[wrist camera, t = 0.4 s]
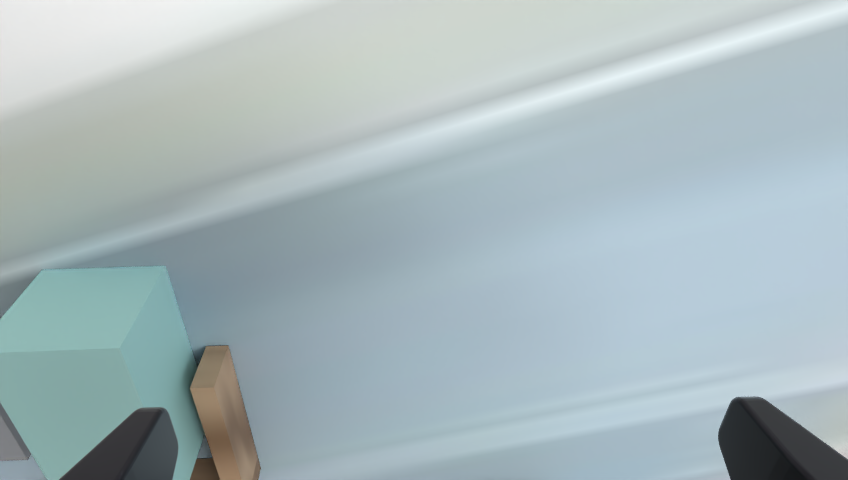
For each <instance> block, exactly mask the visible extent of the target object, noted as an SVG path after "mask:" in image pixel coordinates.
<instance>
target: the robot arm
mask: <svg viewBox="0 0 848 480" xmlns="http://www.w3.org/2000/svg"><path fill="white" fill-rule="evenodd" d="M718 440H719V445H720V449H721V452H722V455H723V458H724V461H725V464H726V467H727V470H728V473H729V476H730V479H731V480H848V459H846V458H845V457H844V456H842V455H841V454H840V453H838V452H837V451H835V450H834V449H833V448H831V447H830V446H829V445H827V444H826V443H824V442H823V441H822V440H820V439H819V438H818V437H816V436H815V435H813V434H812V433H811V432H809V431H808V430H807V429H805V428H804V427H802V426H801V425H800V424H798V423H797V422H795V421H794V420H793V419H791V418H790V417H789V416H787V415H786V414H784V413H783V412H782V411H780V410H779V409H778V408H776V407H775V406H773V405H772V404H771V403H769V402H768V401H766V400H765V399H763V398H761V397H736V398H734V399H733V400H732V401H731V402H730V405H729V407H728V409H727V412H726V414H725V416H724V419H723V421H722V423H721V426H720V428H719V433H718ZM177 457H178V440H177V437H176V433H175V430H174V427H173V424H172V421H171V418H170V415H169V413H168V411H167V410H166V409H165V408H163V407H144V408H139V409H137V410H135V411H134V412H133V413H131V414H130V415H129V416H128V417H127V418H126V419H125V420H124V421H123V422H122V423H120V424H119V425H118V426H117V427H116V428H115V429H114V430H113V431H112V432H111V433H109V434H108V435H107V436H106V437H105V438H104V439H103V440H102V441H101V442H100V443H98V444H97V445H96V446H95V447H94V448H93V449H92V450H91V451H90V452H89V453H87V454H86V455H85V456H84V457H83V458H82V459H81V460H80V461H79V462H78V463H76V464H75V465H74V466H73V467H72V468H71V469H70V470H69V471H68V472H67V473H65V474H64V475H63V476H62V477H61V478H60V479H59V480H173V475H174V471H175V466H176V462H177Z"/></svg>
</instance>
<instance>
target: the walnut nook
mask: <svg viewBox="0 0 848 480" xmlns="http://www.w3.org/2000/svg"><path fill="white" fill-rule="evenodd" d="M190 390H191V393H192V396H193V399H194V402H195V405H196V408H197V411H198V414H199V417H200V420H201V423H202V426H203V429H204V432H205V436H206V439H207V442H208V445H209V448H210V451H211V454H212V457H213V458H207V459H196V462H195V465H194V468H193V471H192V474H191V477H190V480H258V478H259V474H260V469H261V467H260V464H259V460H258V456H257V452H256V448H255V445H254V441H253V437H252V433H251V430H250V426H249V422H248V418H247V414H246V411H245V407H244V403H243V399H242V395H241V392H240V388H239V384H238V380H237V376H236V373H235V369H234V365H233V361H232V358H231V354H230V350H229V346H206V348H205V350H204V353H203V356H202V358H201V361H200V363H199V366H198V368H197V371H196V374H195V376H194V379H193V381H192V384H191V386H190Z"/></svg>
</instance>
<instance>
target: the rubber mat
mask: <svg viewBox="0 0 848 480" xmlns="http://www.w3.org/2000/svg"><path fill="white" fill-rule="evenodd" d="M30 455H31V453H30V451H29V449H28V448H27V446H26V444H25V443H24V441H23V439H22V438H21V436H20V434H19V433H18V431H17V429H16V428H15V426H14V424H13V423H12V421H11V419H10V418H9V416H8V414H7V413H6V411H5V409H4V408H3V406H2V404H1V403H0V461H9V460H28V458H29V457H30Z"/></svg>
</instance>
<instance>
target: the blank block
mask: <svg viewBox="0 0 848 480" xmlns="http://www.w3.org/2000/svg"><path fill="white" fill-rule="evenodd" d="M196 371H197V364H196V361H195V358H194V355H193V352H192V348H191V345H190V342H189V339H188V336H187V333H186V329H185V326H184V323H183V320H182V317H181V314H180V310H179V307H178V304H177V301H176V298H175V295H174V291H173V288H172V285H171V282H170V279H169V276H168V272H167V269H166V266H140V267H109V268H77V269H45V270H41V272H40V273H39V274H38V275H37V276H36V278H35V279H34V280H33V281H32V282H31V283H30V285H29V286H28V287H27V288H26V289H25V291H24V292H23V293H22V294H21V295H20V296H19V298H18V299H17V300H16V301H15V302H14V304H13V305H12V306H11V307H10V308H9V309H8V311H7V312H6V313H5V314H4V315H3V317H2V318H1V319H0V403H1V404H2V406H3V408H4V409H5V411H6V413H7V414H8V416H9V418H10V419H11V421H12V423H13V424H14V426H15V428H16V429H17V431H18V433H19V434H20V436H21V438H22V439H23V441H24V443H25V444H26V446H27V448H28V449H29V451H30V453H31V454H32V456H33V457H34V459H35V461H36V462H37V464H38V466H39V467H40V469H41V471H42V472H43V474H44V476H45V477H46V479H47V480H59V479H60V478H61V477H62V476H63V475H64V474H65V473H67V472H68V471H69V470H70V469H71V468H72V467H73V466H74V465H75V464H76V463H78V462H79V461H80V460H81V459H82V458H83V457H84V456H85V455H86V454H87V453H89V452H90V451H91V450H92V449H93V448H94V447H95V446H96V445H97V444H98V443H100V442H101V441H102V440H103V439H104V438H105V437H106V436H107V435H108V434H109V433H111V432H112V431H113V430H114V429H115V428H116V427H117V426H118V425H119V424H120V423H122V422H123V421H124V420H125V419H126V418H127V417H128V416H129V415H130V414H131V413H133V412H134V411H135V410H137V409H139V408H144V407H163V408H165V409H166V410H167V411H168V413H169V415H170V418H171V421H172V424H173V427H174V430H175V433H176V437H177V440H178V457H177V462H176V466H175V471H174V475H173V480H190V477H191V474H192V471H193V468H194V465H195V462H196V459H197V456H198V453H199V450H200V447H201V444H202V441H203V438H204V435H205V432H204V429H203V426H202V423H201V420H200V417H199V414H198V411H197V408H196V405H195V402H194V399H193V396H192V393H191V390H190V386H191V384H192V381H193V379H194V376H195V374H196Z"/></svg>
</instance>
